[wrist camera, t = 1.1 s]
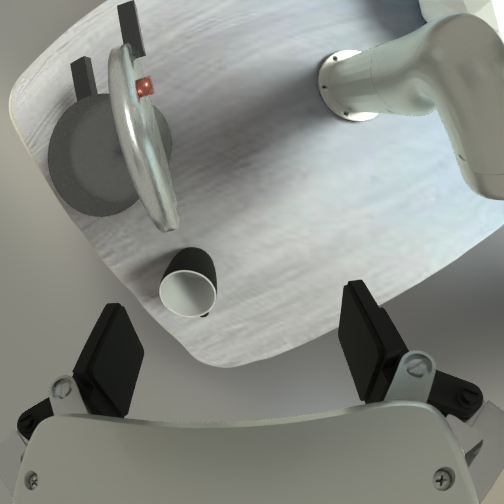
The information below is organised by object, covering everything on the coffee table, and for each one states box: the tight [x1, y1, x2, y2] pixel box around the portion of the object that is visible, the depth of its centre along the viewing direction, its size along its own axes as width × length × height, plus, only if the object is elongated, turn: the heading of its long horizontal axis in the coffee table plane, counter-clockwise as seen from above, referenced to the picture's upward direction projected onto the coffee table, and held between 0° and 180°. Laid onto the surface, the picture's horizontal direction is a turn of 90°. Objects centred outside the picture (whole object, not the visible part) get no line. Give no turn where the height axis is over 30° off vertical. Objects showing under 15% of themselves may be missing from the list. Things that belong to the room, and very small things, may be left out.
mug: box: [159, 248, 217, 318], centre depth 47 cm, size 12×9×10 cm
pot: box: [48, 56, 171, 217], centre depth 35 cm, size 17×24×10 cm
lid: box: [108, 0, 179, 233], centre depth 22 cm, size 19×23×2 cm
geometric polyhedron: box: [419, 0, 504, 43], centre depth 22 cm, size 19×20×20 cm
